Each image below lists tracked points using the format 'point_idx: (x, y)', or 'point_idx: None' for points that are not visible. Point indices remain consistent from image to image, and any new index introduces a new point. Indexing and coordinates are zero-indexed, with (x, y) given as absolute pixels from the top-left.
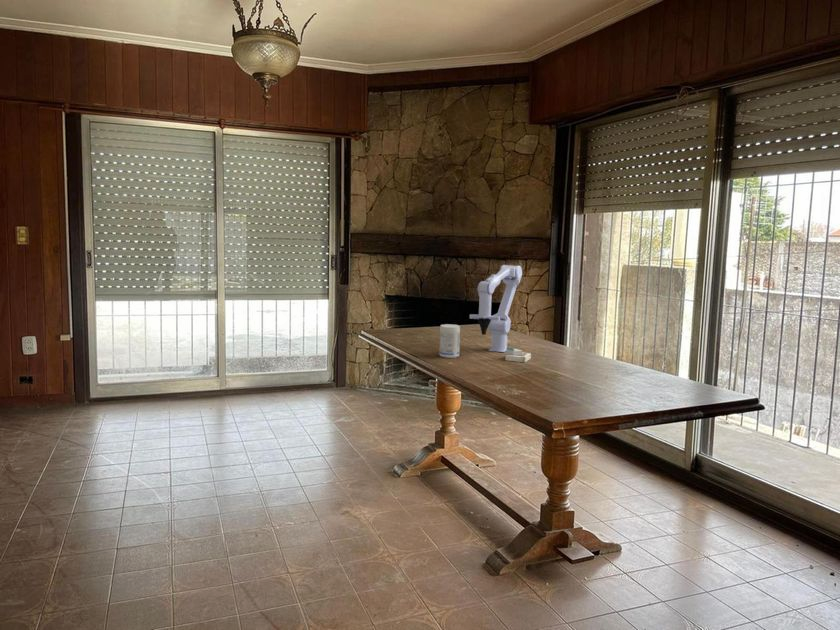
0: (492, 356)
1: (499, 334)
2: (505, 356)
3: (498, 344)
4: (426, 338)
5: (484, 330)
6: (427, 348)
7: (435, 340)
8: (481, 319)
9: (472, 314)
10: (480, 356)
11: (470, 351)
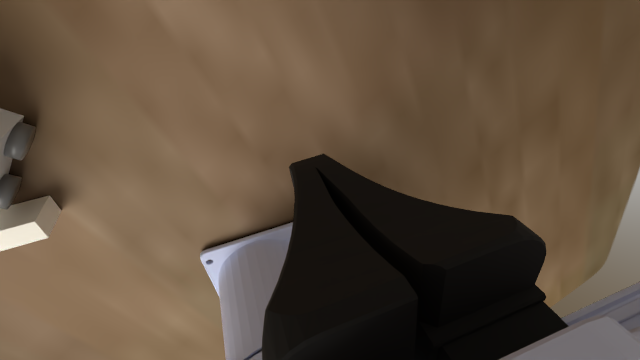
0: (161, 88)
1: (255, 350)
2: (31, 126)
3: (246, 279)
4: (607, 217)
5: (305, 189)
6: (627, 10)
7: (576, 215)
8: (490, 337)
9: None
10: (236, 7)
11: (382, 129)
